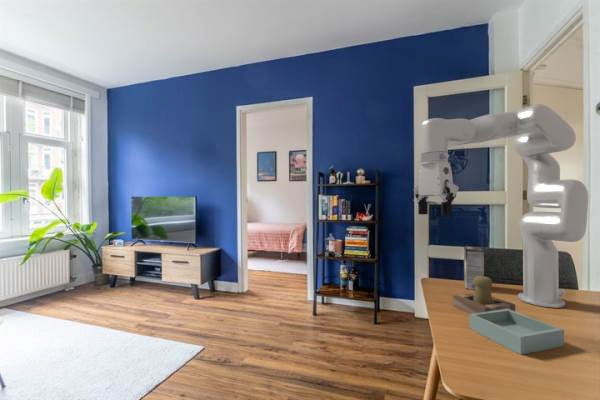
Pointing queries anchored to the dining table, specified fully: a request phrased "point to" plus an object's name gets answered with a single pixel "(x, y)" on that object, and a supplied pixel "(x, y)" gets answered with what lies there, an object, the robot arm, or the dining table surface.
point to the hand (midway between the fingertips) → (434, 214)
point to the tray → (516, 331)
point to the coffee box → (473, 265)
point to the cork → (482, 290)
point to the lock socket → (471, 306)
